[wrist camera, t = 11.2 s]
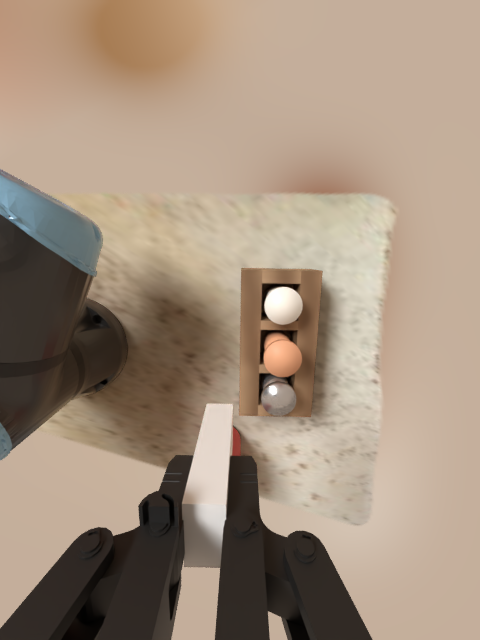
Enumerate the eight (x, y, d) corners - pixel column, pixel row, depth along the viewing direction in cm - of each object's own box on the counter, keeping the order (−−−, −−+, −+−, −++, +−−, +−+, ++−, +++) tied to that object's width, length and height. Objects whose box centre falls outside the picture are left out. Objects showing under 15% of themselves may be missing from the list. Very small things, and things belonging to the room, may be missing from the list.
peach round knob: (259, 356, 39) (263, 376, 32) (260, 326, 38) (264, 341, 31) (290, 357, 39) (300, 377, 32) (292, 327, 38) (303, 341, 31)
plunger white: (260, 313, 39) (264, 324, 32) (261, 282, 38) (265, 287, 32) (291, 313, 39) (301, 324, 32) (293, 282, 38) (303, 287, 32)
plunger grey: (258, 390, 42) (260, 415, 35) (258, 363, 41) (262, 383, 34) (287, 391, 42) (295, 416, 35) (288, 363, 41) (297, 384, 34)
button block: (239, 394, 44) (239, 415, 38) (241, 268, 40) (241, 269, 34) (301, 395, 44) (311, 416, 38) (310, 269, 40) (322, 271, 34)
